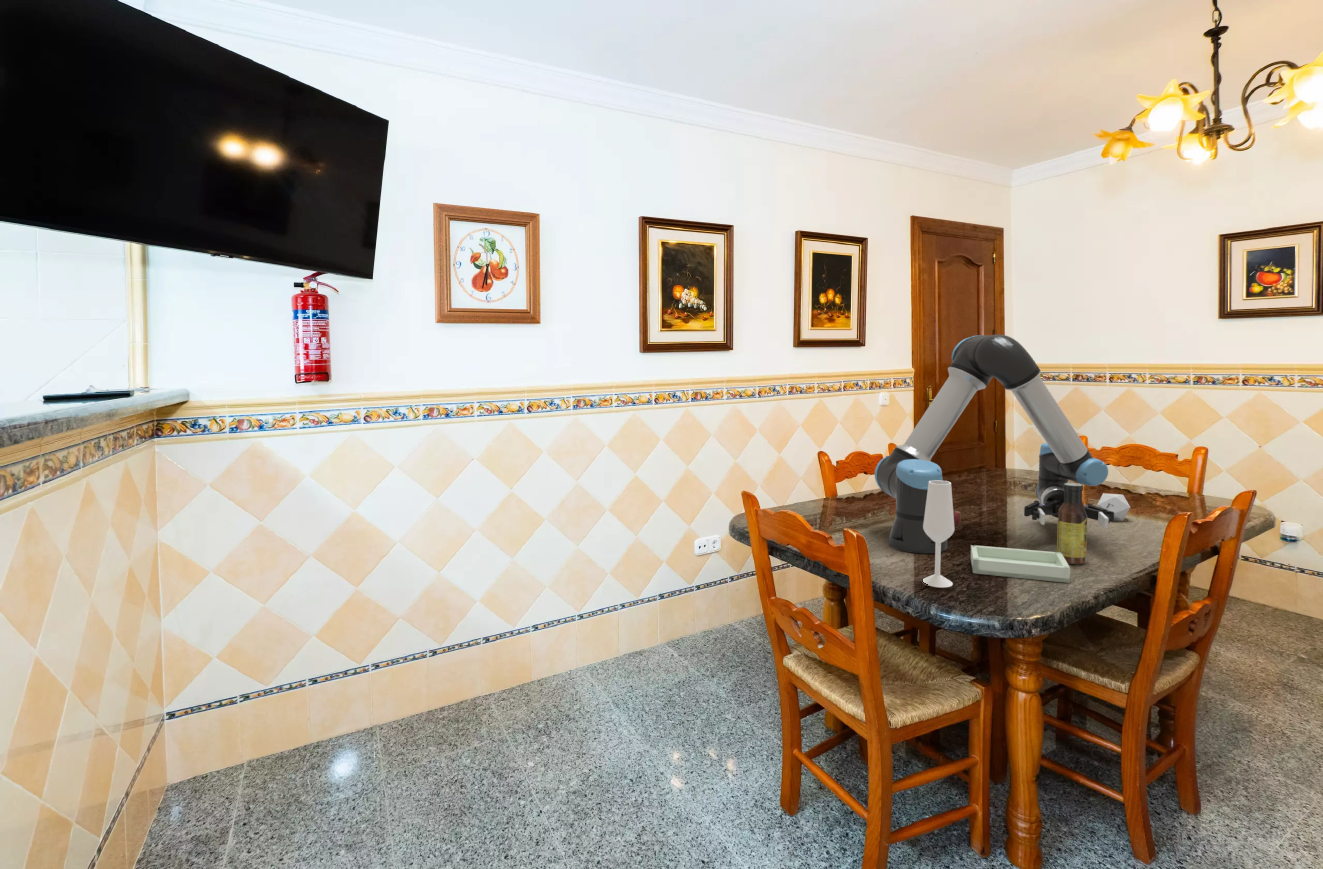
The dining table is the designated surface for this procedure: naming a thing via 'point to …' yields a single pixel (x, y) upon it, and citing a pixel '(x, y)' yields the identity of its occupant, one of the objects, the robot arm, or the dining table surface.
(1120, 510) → the die
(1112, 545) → the dining table surface
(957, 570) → the dining table surface
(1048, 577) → the tray
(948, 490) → the champagne flute
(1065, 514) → the sauce bottle
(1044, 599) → the dining table surface
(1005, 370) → the robot arm
